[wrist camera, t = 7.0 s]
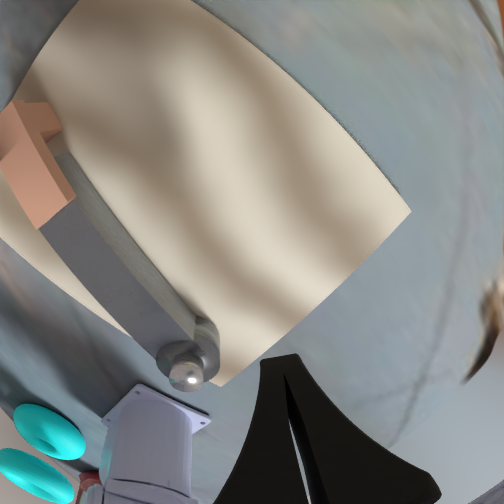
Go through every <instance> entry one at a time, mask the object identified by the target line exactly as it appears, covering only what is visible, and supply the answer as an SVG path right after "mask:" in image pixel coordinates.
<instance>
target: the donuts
mask: <svg viewBox="0 0 504 504" xmlns="http://www.w3.org/2000/svg"><path fill="white" fill-rule="evenodd" d="M13 420H14V424H15V427H16V429H17V430H18V432H19V433H20V435H21V436H22V437H23V438H24V439H25V440H26V441H27V442H28V443H29V444H30V445H32V446H33V447H35V448H36V449H38V450H39V451H41V452H43V453H45V454H47V455H49V456H52V457H54V458H58V459H63V460H74V459H77V458H79V457H81V456H82V455H83V454H84V452H85V448H86V444H85V440H84V438H83V436H82V435H81V433H80V432H79V431H78V429H77V428H76V427H75V426H73V425H72V424H71V423H70V422H69V421H67V420H66V419H65V418H63V417H62V416H60V415H58V414H57V413H55V412H53V411H51V410H49V409H47V408H44V407H42V406H39V405H35V404H22V405H19V406H18V407H17V408H16V409H15V411H14V414H13ZM0 471H1V473H2V474H3V475H4V476H6V477H7V478H8V479H9V480H10V481H12V482H13V483H15V484H16V485H18V486H19V487H21V488H22V489H24V490H26V491H28V492H30V493H32V494H34V495H36V496H38V497H40V498H43V499H45V500H48V501H51V502H55V503H59V504H67V503H70V502H71V501H72V500H73V499H74V489H73V487H72V485H71V484H70V482H69V481H68V480H67V478H66V477H65V476H63V475H62V474H61V473H60V472H59V471H58V470H56V469H55V468H54V467H52V466H50V465H49V464H47V463H45V462H44V461H42V460H40V459H38V458H37V457H35V456H32V455H30V454H28V453H25V452H23V451H20V450H17V449H12V448H5V449H1V450H0Z"/></svg>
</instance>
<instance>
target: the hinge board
mask: <svg viewBox="0 0 504 504" xmlns="http://www.w3.org/2000/svg"><path fill="white" fill-rule="evenodd" d="M12 100H23V101H24V103H40V102H49V103H50V105H51V107H52V109H53V111H54V113H55V115H56V117H57V118H58V120H59V122H60V124H61V126H62V128H63V129H62V130H61V131H60V132H59V133H57V134H56V135H55V136H54V137H53V138H52V139H51V140H50V141H49V142H48V143H47V144H46V145H47V147H48V149H49V150H50V152H51V154H52V156H53V157H54V156H57V155H61V154H64V153H67V152H69V153H70V154H71V156H72V157H73V159H74V160H75V162H76V163H77V165H78V166H79V168H80V169H81V171H82V172H83V174H84V175H85V176H86V178H87V179H88V181H89V182H90V184H91V185H92V186H93V188H94V189H95V191H96V192H97V193H98V195H99V196H100V197H101V199H102V200H103V202H104V203H105V204H106V206H107V207H108V208H109V210H110V211H111V212H112V214H113V215H114V216H115V218H116V219H117V220H118V222H119V223H120V224H121V226H122V227H123V228H124V229H125V231H126V232H127V233H128V235H129V236H130V237H131V238H132V240H133V241H134V242H135V243H136V245H137V246H138V247H139V248H140V250H141V251H142V252H143V253H144V255H145V256H146V257H147V258H148V260H149V261H150V262H151V263H152V264H153V266H154V267H155V268H156V269H157V271H158V272H159V273H160V274H161V275H162V277H163V278H164V279H165V280H166V281H167V282H168V284H169V285H170V286H171V287H172V288H173V289H174V291H175V292H176V293H177V294H178V295H179V296H180V298H181V299H182V300H183V301H184V302H185V303H186V304H187V305H188V307H189V308H190V309H191V310H192V311H193V312H194V313H195V314H196V315H197V316H201V317H203V318H205V319H207V320H209V321H210V322H212V323H213V324H214V325H215V327H216V328H217V330H218V332H219V335H220V369H219V371H218V373H217V374H216V376H215V377H213V378H212V379H211V380H209V381H210V382H212V383H214V384H216V385H218V386H220V387H222V386H223V385H224V384H225V383H227V382H228V381H229V380H231V379H232V378H233V377H234V376H236V375H237V374H238V373H239V372H241V371H242V370H243V369H244V368H246V367H247V366H248V365H249V364H251V363H252V362H253V361H254V360H255V359H257V358H258V357H259V356H260V355H261V354H263V353H264V352H265V351H266V350H267V349H269V348H270V347H271V346H272V345H273V344H275V343H276V342H277V341H278V340H279V339H280V338H282V337H283V336H284V335H285V334H286V333H287V332H289V331H290V330H291V329H292V328H293V327H294V326H295V325H296V324H298V323H299V322H300V321H301V320H302V319H303V318H304V317H305V316H307V315H308V314H309V313H310V312H311V311H312V310H313V309H314V308H315V307H317V306H318V305H319V304H320V303H321V302H322V301H323V300H324V299H325V298H326V297H327V296H328V295H329V294H331V293H332V292H333V291H334V290H335V289H336V288H337V287H338V286H339V285H340V284H341V283H342V282H343V281H344V280H345V279H346V278H347V277H348V276H349V275H350V274H351V273H352V272H353V271H354V270H356V269H357V268H358V267H359V266H360V265H361V264H362V263H363V262H364V261H365V260H366V259H367V258H368V257H369V256H370V255H371V254H372V253H373V252H374V250H375V249H376V248H377V247H378V246H379V245H380V244H381V243H382V242H383V241H384V240H385V239H386V238H387V237H388V236H389V235H390V234H391V233H392V232H393V231H394V230H395V229H396V228H397V226H398V225H399V224H400V223H401V222H402V221H403V220H404V219H405V218H406V217H407V216H408V215H409V213H410V212H411V210H410V209H409V207H408V206H407V205H406V203H405V202H404V201H403V199H402V198H401V197H400V195H399V194H398V193H397V191H396V190H395V189H394V187H393V186H392V185H391V184H390V182H389V181H388V180H387V179H386V177H385V176H384V175H383V174H382V172H381V171H380V170H379V169H378V168H377V166H376V165H375V164H374V163H373V162H372V160H371V159H370V158H369V157H368V156H367V154H366V153H365V152H364V151H363V150H362V149H361V148H360V146H359V145H358V144H357V143H356V142H355V141H354V140H353V139H352V137H351V136H350V135H349V134H348V133H347V132H346V131H345V130H344V129H343V128H342V127H341V126H340V125H339V123H338V122H337V121H336V120H335V119H334V118H333V117H332V116H331V115H330V114H329V113H328V112H327V111H326V110H325V109H324V108H323V107H322V106H321V105H320V104H319V103H318V102H317V101H316V100H315V99H314V98H313V97H312V96H311V95H310V94H309V93H308V92H307V91H306V90H304V89H303V88H302V87H301V86H300V85H299V84H298V83H297V82H296V81H295V80H294V79H293V78H291V77H290V76H289V75H288V74H287V73H286V72H285V71H284V70H282V69H281V68H280V67H279V66H278V65H277V64H276V63H274V62H273V61H272V60H271V59H270V58H268V57H267V56H266V55H265V54H264V53H262V52H261V51H260V50H259V49H258V48H256V47H255V46H254V45H253V44H251V43H250V42H249V41H247V40H246V39H245V38H244V37H242V36H241V35H240V34H238V33H237V32H236V31H234V30H233V29H232V28H230V27H229V26H228V25H226V24H225V23H223V22H222V21H221V20H219V19H218V18H216V17H215V16H214V15H212V14H211V13H209V12H208V11H206V10H205V9H203V8H202V7H200V6H199V5H197V4H196V3H194V2H193V1H191V0H79V1H78V2H77V3H76V5H75V6H74V7H73V8H72V9H71V11H70V12H69V13H68V14H67V16H66V17H65V18H64V19H63V21H62V22H61V23H60V24H59V26H58V27H57V28H56V30H55V31H54V33H53V34H52V35H51V37H50V38H49V39H48V41H47V42H46V44H45V45H44V47H43V48H42V50H41V51H40V53H39V54H38V56H37V57H36V59H35V60H34V62H33V64H32V65H31V67H30V68H29V70H28V72H27V73H26V75H25V77H24V79H23V80H22V82H21V84H20V86H19V87H18V89H17V91H16V93H15V95H14V97H13V99H12ZM0 237H1V238H2V239H3V240H4V241H5V242H6V243H7V244H8V245H9V246H11V247H12V248H13V249H14V250H15V251H16V252H17V253H18V254H20V255H21V256H22V257H23V258H24V259H25V260H26V261H28V262H29V263H30V264H31V265H32V266H34V267H35V268H36V269H37V270H38V271H40V272H41V273H42V274H43V275H45V276H46V277H47V278H48V279H50V280H51V281H52V282H53V283H55V284H56V285H57V286H58V287H60V288H61V289H62V290H64V291H65V292H66V293H68V294H69V295H70V296H72V297H73V298H74V299H76V300H77V301H78V302H80V303H81V304H83V305H84V306H85V307H87V308H88V309H90V310H91V311H92V312H94V313H95V314H97V315H98V316H100V317H101V318H103V319H104V320H106V321H107V322H109V323H110V324H112V325H113V326H115V327H116V328H118V329H119V330H121V331H122V332H124V333H125V334H127V335H129V334H128V333H127V332H126V331H125V330H124V329H123V328H122V327H121V326H120V325H119V324H118V323H117V322H116V321H115V320H114V319H113V317H112V316H111V315H110V314H109V313H108V312H107V311H106V310H105V309H104V308H103V307H102V306H101V305H100V304H99V303H98V301H97V300H96V299H95V298H94V297H93V296H92V295H91V294H90V293H89V291H88V290H87V289H86V288H85V287H84V286H83V285H82V283H81V282H80V281H79V280H78V279H77V278H76V276H75V275H74V274H73V273H72V272H71V270H70V269H69V268H68V267H67V266H66V264H65V263H64V262H63V261H62V259H61V258H60V257H59V256H58V254H57V253H56V252H55V251H54V249H53V248H52V247H51V245H50V244H49V243H48V241H47V240H46V239H45V237H44V236H43V235H42V233H41V232H40V231H39V229H37V230H36V229H35V227H34V226H33V224H32V223H31V221H30V219H29V218H28V216H27V215H26V213H25V211H24V210H23V208H22V206H21V205H20V203H19V201H18V200H17V198H16V196H15V195H14V193H13V191H12V189H11V188H10V186H9V184H8V182H7V180H6V179H5V177H4V175H3V173H2V171H1V169H0ZM129 336H130V335H129ZM130 337H131V336H130Z"/></svg>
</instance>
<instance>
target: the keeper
mask: <svg viewBox="0 0 504 504" xmlns="http://www.w3.org/2000/svg"><path fill="white" fill-rule="evenodd" d="M62 129H63V128H62V126H61V124H60V122H59V120H58V118H57V117H56V115H55V113H54V111H53V109H52V107H51V105H50V103H49V102H40V103H24V101H23V100H11V101H10V103H9V104H8V105H7V106H6V107H5V108H4V109H3V111H2V112H1V113H0V169H1V171H2V173H3V175H4V177H5V179H6V180H7V182H8V184H9V186H10V188H11V189H12V191H13V193H14V195H15V196H16V198H17V200H18V201H19V203H20V205H21V206H22V208H23V210H24V211H25V213H26V215H27V216H28V218H29V219H30V221H31V223H32V224H33V226H34V227H35V229H36V230H37V229H38V228H40V227H41V226H42V225H44V224H45V223H46V222H47V221H48V220H50V219H51V218H52V217H53V216H54V215H55V214H56V213H57V212H59V211H60V210H61V209H62V208H63V207H64V206H66V205H67V204H68V203H69V202H70V201H71V200H73V199H74V198H75V197H76V196H77V195H76V194H75V192H74V191H73V189H72V187H71V186H70V184H69V183H68V181H67V179H66V178H65V176H64V174H63V173H62V171H61V169H60V168H59V166H58V164H57V163H56V161H55V159H54V157H53V156H52V154H51V152H50V150H49V149H48V147H47V145H46V144H47V143H48V142H49V141H50V140H51V139H52V138H53V137H54V136H55V135H56V134H57V133H59V132H60V131H61V130H62Z"/></svg>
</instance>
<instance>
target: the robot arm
mask: <svg viewBox="0 0 504 504" xmlns="http://www.w3.org/2000/svg"><path fill="white" fill-rule="evenodd" d="M288 418H289V419H288ZM289 421H290V424H291V427H292V431H293V434H294V437H295V440H296V443H297V446H298V449H299V453H300V456H301V459H302V462H303V466H304V470H305V475H306V480H307V485H308V489H309V495H310V500H311V504H434V503H435V502H437V501H438V500H439V499H440V497H441V495H442V494H441V491H440V489H439V487H438V485H437V484H436V482H435V481H434V479H433V478H432V476H431V475H430V474H429V473H428V472H426V471H424V470H422V469H419V468H417V467H415V466H414V465H412V464H409V463H408V462H406V461H404V460H402V459H401V458H399V457H397V456H396V455H394V454H393V453H391V452H389V451H388V450H387V449H385V448H384V447H382V446H381V445H380V444H378V443H377V442H375V441H374V440H372V439H371V438H370V437H369V436H367V435H366V434H365V433H364V432H363V431H361V430H360V429H359V428H358V427H357V426H356V425H354V424H353V423H352V422H351V421H350V420H349V419H348V418H347V417H346V416H345V415H344V414H343V413H342V412H341V411H340V410H339V409H338V408H337V407H336V406H335V405H334V404H333V402H332V401H331V400H330V399H329V398H328V397H327V395H326V394H325V393H324V392H323V390H322V389H321V388H320V387H319V386H318V384H317V383H316V382H315V380H314V379H313V377H312V376H311V375H310V373H309V372H308V370H307V369H306V367H305V365H304V364H303V362H302V360H301V358H300V356H299V355H298V354H290V355H285V356H279V357H273V358H267V359H262V360H261V361H260V383H259V390H258V395H257V400H256V405H255V410H254V413H253V417H252V421H251V424H250V428H249V431H248V434H247V437H246V439H245V442H244V445H243V447H242V450H241V452H240V455H239V457H238V459H237V461H236V464H235V466H234V468H233V470H232V472H231V474H230V476H229V478H228V479H227V481H226V483H225V485H224V486H223V488H222V490H221V492H220V493H219V495H218V497H217V498H216V500H215V501H214V503H213V504H309V503H308V499H307V495H306V491H305V487H304V484H303V480H302V476H301V472H300V468H299V464H298V460H297V455H296V451H295V447H294V443H293V439H292V434H291V430H290V425H289ZM210 422H211V417H210V416H208V415H205V414H203V413H201V412H198V411H196V410H194V409H192V408H189V407H187V406H185V405H183V404H181V403H179V402H176V401H174V400H172V399H170V398H168V397H166V396H164V395H162V394H160V393H158V392H156V391H154V390H152V389H150V388H148V387H147V386H145V385H143V384H137V385H135V386H134V387H133V388H132V389H131V390H130V391H129V392H128V393H127V394H126V395H125V396H124V397H123V398H122V399H121V400H120V401H119V402H118V403H117V404H116V405H115V406H114V407H113V408H112V409H111V410H110V411H109V412H108V413H107V414H106V415H105V416H104V417H103V418H102V419H101V423H102V424H103V425H105V426H107V427H108V431H107V435H106V440H105V444H104V448H103V453H102V457H101V462H100V467H99V476H100V480H101V483H102V485H103V486H102V485H99V484H94V486H90V487H88V489H87V493H86V497H85V501H84V504H198V500H195V499H191V454H192V434H193V433H195V432H196V431H198V430H199V429H201V428H203V427H204V426H206V425H207V424H209V423H210ZM468 504H504V480H503V481H502V482H500V483H499V484H497V485H496V486H494V487H493V488H491V489H490V490H489V491H487V492H486V493H484V494H483V495H481V496H480V497H478V498H476V499H475V500H473V501H472V502H470V503H468Z"/></svg>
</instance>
